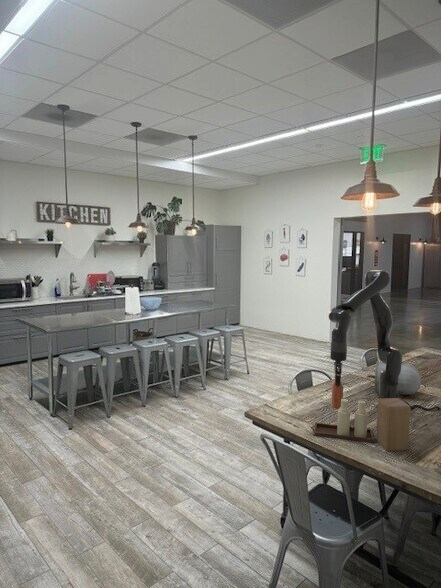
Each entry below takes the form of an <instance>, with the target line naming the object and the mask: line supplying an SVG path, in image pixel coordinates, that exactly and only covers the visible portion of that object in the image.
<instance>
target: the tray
mask: <svg viewBox="0 0 441 588" xmlns="http://www.w3.org/2000/svg"><path fill="white" fill-rule="evenodd" d="M313 436H315V437H322V438H330V439H331V438H332V439H339V440H347V441H353V442H360V443H370V444H371V443H372V444H374V443H375V437H374V434H373V429H372V428H367V437H366V438H362V437H355V436H354V426H350V430H349V436H346V435H338V434H337V424H331V423H322V422H314V432H313Z"/></svg>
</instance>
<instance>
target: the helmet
mask: <svg viewBox="0 0 441 588" xmlns="http://www.w3.org/2000/svg"><path fill="white" fill-rule="evenodd" d="M385 369H386V364H385V363H383V362H381V361H380V360H377V361H376V363H375V369H374V374H373V375H372V374H368V375H366V377H365V379H366V380H367V381H368V382H371V383H373V384H374V394H376V395H379V384H380V372H381V371H382V370H385ZM371 379H373V380H374V381H373V380H371ZM421 385H422V376H421V372H420V371H419V370H418V369H417V368H416V367H415V366H414V365H413V364H409V363H402V366H401V373H400V375H399V382H398V394H399V395H404V396H406V395H413V394H415V393H417V392H418V391H419V390H420V388H421Z"/></svg>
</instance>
